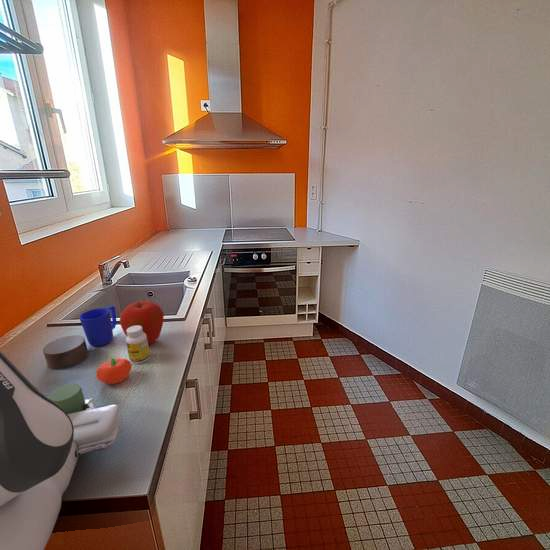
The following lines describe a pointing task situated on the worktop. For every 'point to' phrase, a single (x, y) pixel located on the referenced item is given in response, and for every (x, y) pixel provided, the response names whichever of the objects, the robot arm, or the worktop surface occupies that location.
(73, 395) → the stacking piece
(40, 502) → the robot arm
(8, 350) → the worktop surface
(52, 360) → the plinth
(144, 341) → the supplement bottle
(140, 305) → the apple
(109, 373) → the pumpkin
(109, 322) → the mug
